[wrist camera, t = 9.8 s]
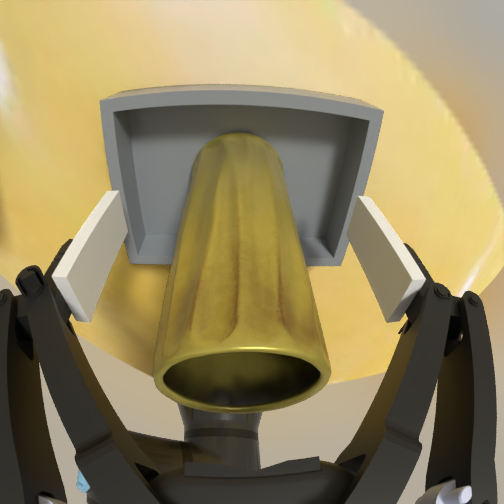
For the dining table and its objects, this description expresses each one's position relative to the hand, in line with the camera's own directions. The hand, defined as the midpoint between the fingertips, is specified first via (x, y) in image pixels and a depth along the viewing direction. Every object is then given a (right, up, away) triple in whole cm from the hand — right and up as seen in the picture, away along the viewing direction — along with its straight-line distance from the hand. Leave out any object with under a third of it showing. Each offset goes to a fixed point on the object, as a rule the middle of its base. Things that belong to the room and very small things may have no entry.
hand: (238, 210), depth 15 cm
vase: (0, +3, +4) cm, 5 cm away
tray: (0, +4, +4) cm, 6 cm away
